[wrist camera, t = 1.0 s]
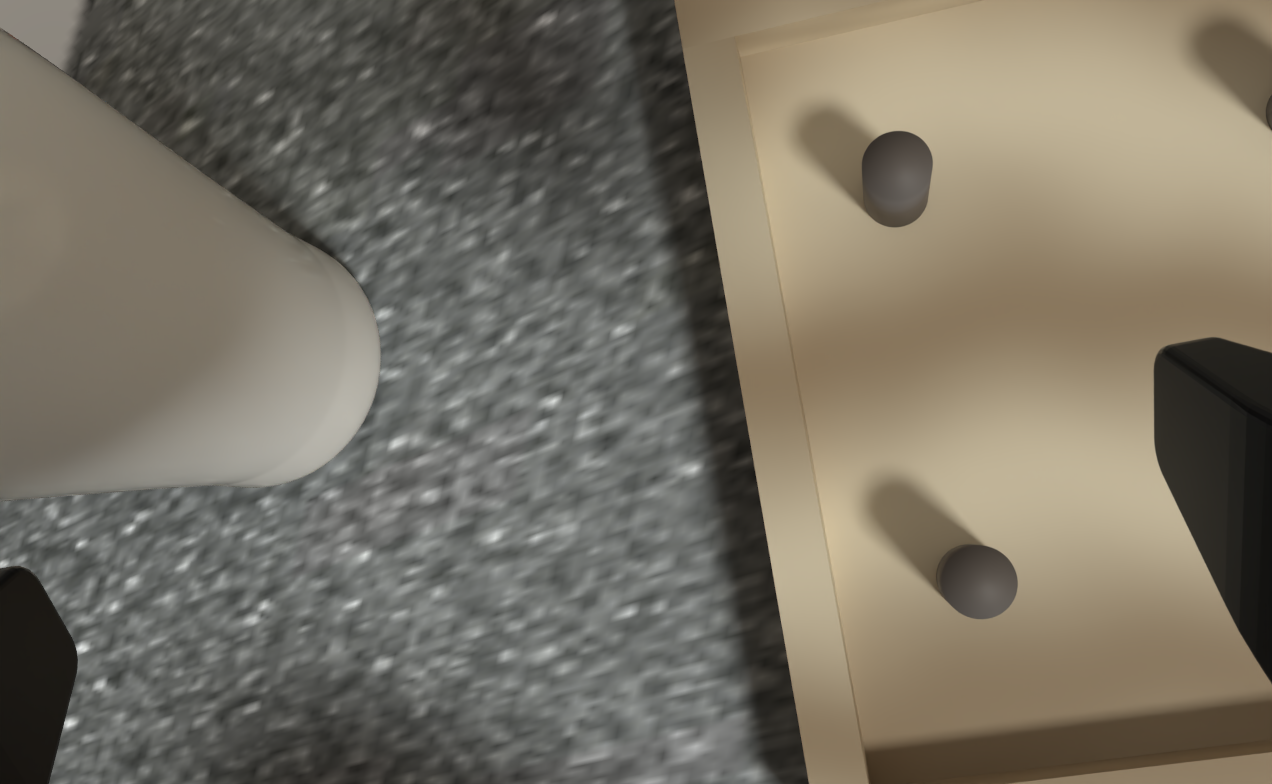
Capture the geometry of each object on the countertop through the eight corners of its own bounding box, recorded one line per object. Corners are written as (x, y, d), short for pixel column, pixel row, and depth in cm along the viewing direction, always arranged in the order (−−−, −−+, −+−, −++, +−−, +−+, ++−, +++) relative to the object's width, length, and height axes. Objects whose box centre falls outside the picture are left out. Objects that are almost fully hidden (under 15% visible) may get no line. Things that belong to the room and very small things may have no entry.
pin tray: (1663, 741, 20) (1798, 778, 17) (827, 838, 22) (820, 883, 19) (1422, -132, 22) (1504, -233, 19) (690, 42, 25) (664, -24, 22)
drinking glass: (81, 350, 27) (-875, 130, 12) (304, 150, 26) (-417, -330, 12) (247, 588, 25) (-614, 662, 11) (486, 381, 25) (-78, 162, 10)
